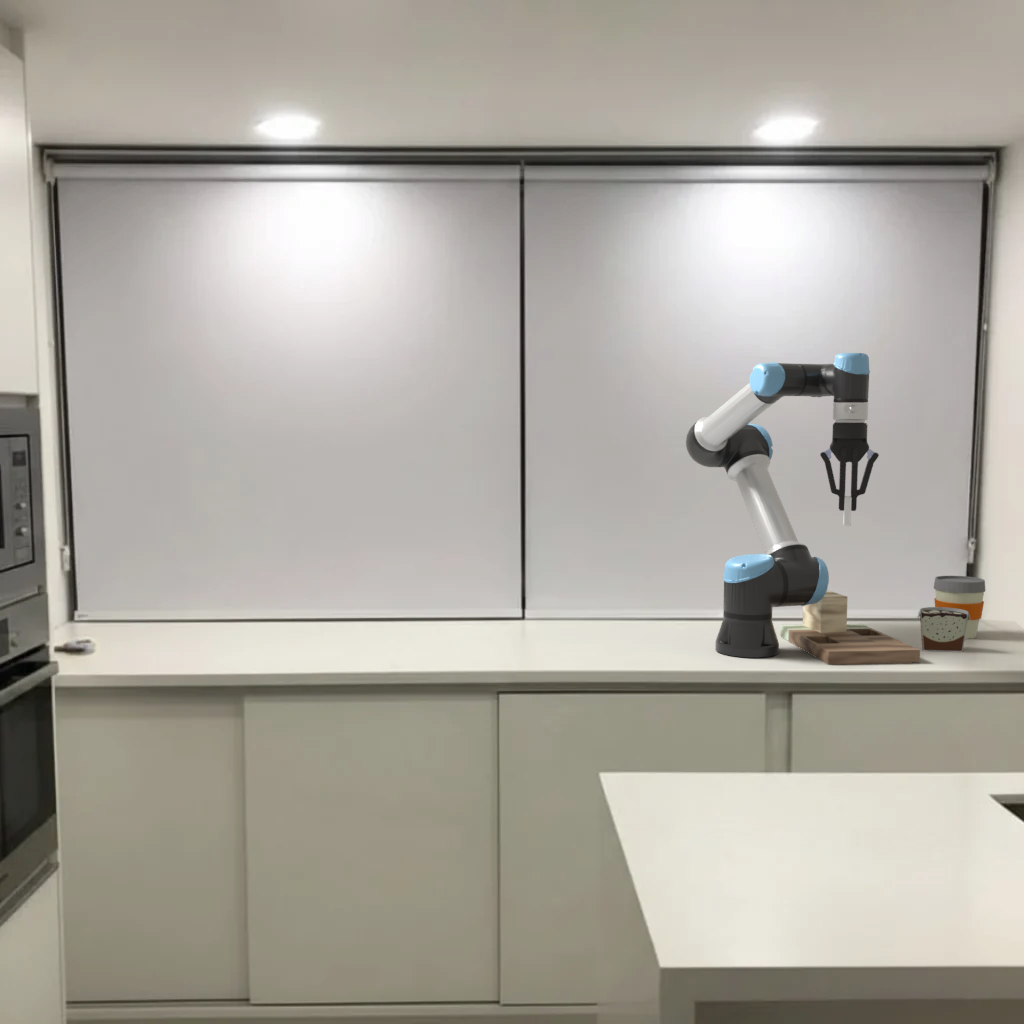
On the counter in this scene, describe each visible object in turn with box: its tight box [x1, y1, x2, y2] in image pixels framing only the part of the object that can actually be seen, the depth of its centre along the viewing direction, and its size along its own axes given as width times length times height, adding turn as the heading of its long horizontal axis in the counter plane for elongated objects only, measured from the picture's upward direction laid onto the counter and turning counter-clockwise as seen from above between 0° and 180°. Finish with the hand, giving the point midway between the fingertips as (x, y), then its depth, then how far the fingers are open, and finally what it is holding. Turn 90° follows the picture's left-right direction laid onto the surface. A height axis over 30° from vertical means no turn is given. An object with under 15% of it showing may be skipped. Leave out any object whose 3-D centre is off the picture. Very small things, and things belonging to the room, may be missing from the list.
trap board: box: [780, 623, 921, 665], centre depth 260 cm, size 32×22×3 cm
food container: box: [916, 606, 970, 652], centre depth 260 cm, size 12×6×10 cm, turn 84°
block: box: [802, 590, 848, 633], centre depth 270 cm, size 10×7×9 cm
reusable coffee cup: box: [933, 575, 986, 639], centre depth 276 cm, size 12×13×15 cm
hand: (846, 525), depth 241 cm, fingers closed
